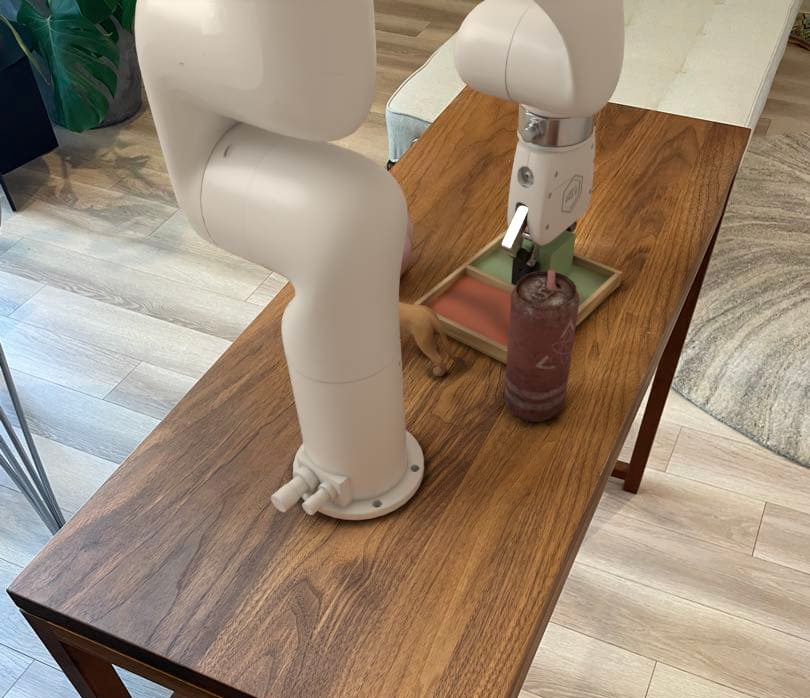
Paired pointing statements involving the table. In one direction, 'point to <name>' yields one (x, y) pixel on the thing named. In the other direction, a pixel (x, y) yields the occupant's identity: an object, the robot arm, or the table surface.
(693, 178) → the table surface
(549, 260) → the green block
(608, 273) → the sorting tray
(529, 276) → the can
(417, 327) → the lion figurine
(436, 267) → the table surface
